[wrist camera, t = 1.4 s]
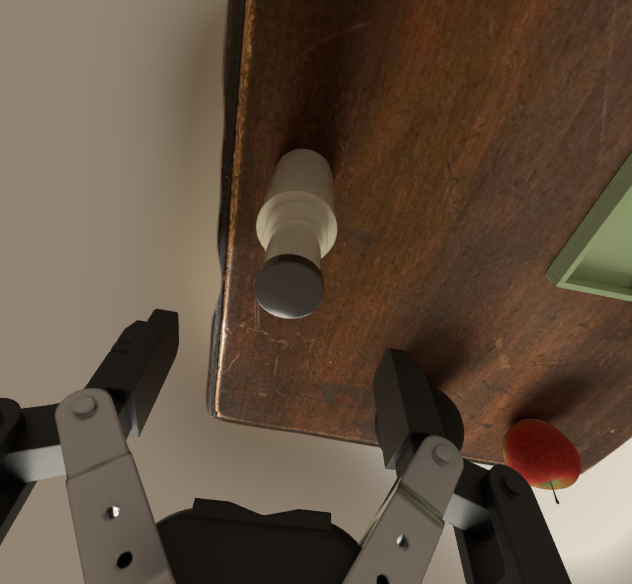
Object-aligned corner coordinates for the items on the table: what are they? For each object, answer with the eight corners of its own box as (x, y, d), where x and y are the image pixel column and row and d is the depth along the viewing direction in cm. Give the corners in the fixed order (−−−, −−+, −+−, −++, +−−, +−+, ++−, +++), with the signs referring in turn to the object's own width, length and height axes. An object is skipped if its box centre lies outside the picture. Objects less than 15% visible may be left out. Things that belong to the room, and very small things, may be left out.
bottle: (277, 142, 28) (239, 234, 15) (339, 156, 28) (355, 257, 15) (269, 201, 30) (231, 323, 18) (325, 213, 31) (328, 339, 18)
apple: (568, 415, 48) (618, 492, 40) (525, 445, 52) (562, 520, 44) (522, 399, 46) (564, 477, 38) (481, 432, 50) (512, 507, 42)
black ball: (417, 353, 41) (441, 430, 33) (464, 391, 45) (495, 469, 37) (354, 392, 45) (361, 469, 37) (402, 424, 49) (418, 500, 41)
